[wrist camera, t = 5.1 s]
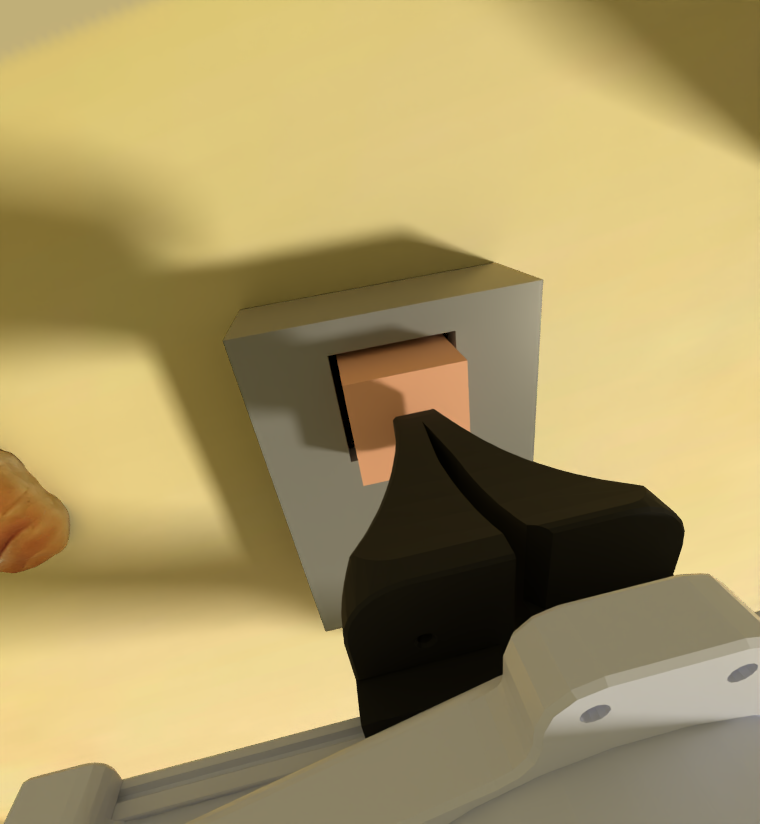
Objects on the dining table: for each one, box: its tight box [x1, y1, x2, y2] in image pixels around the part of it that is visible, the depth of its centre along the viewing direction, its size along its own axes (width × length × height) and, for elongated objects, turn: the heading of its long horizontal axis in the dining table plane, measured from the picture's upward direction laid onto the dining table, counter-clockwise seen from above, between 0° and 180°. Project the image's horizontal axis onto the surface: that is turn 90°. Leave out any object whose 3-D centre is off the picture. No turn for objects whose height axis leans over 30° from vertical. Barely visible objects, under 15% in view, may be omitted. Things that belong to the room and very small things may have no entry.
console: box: [223, 263, 543, 631], centre depth 19 cm, size 16×11×4 cm
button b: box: [336, 334, 470, 486], centre depth 15 cm, size 4×4×4 cm
